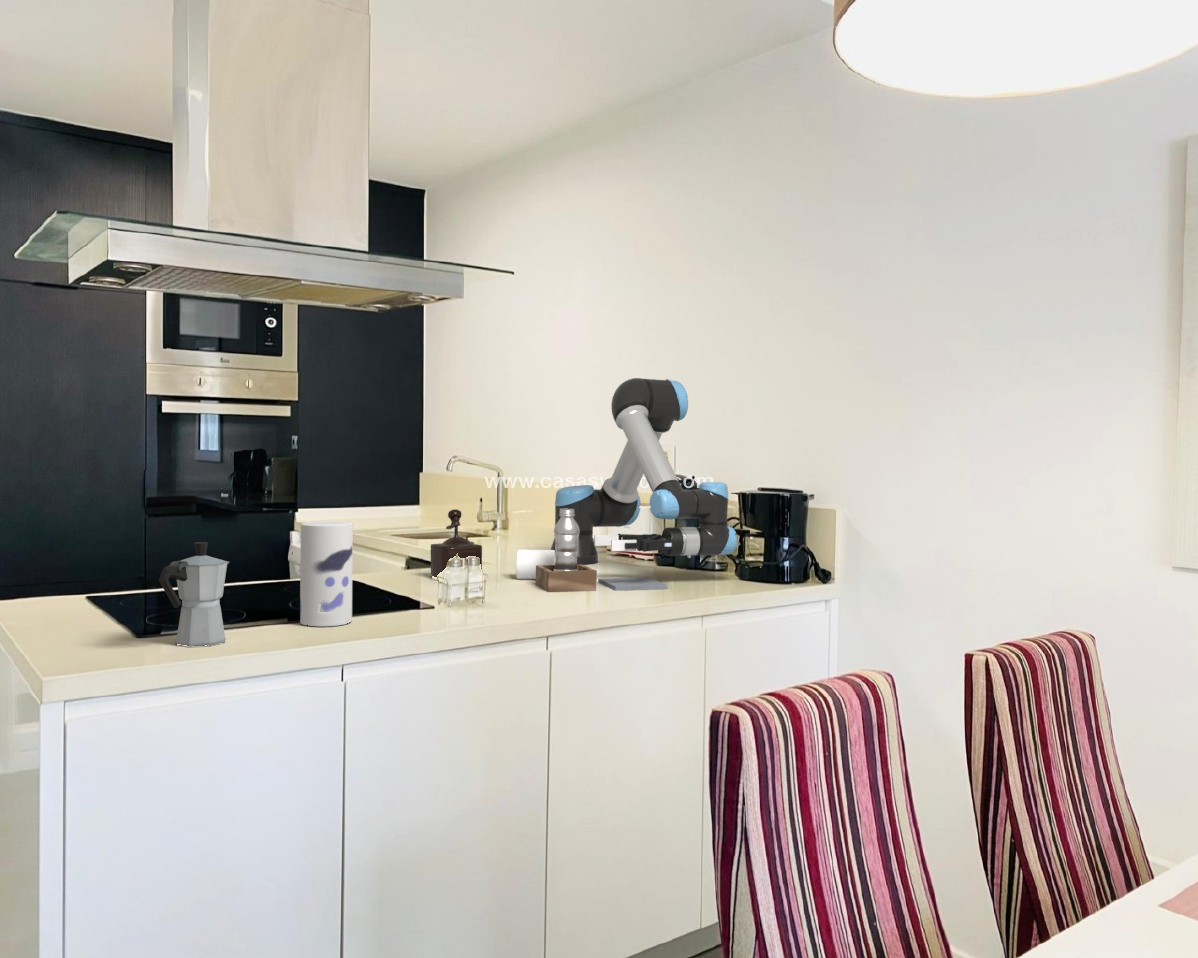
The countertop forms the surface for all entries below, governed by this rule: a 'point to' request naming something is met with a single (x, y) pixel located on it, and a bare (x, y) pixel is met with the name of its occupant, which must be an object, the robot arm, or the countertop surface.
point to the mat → (632, 583)
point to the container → (326, 573)
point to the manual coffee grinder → (452, 547)
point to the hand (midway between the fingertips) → (602, 542)
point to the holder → (566, 579)
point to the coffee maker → (197, 597)
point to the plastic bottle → (566, 541)
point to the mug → (532, 562)
